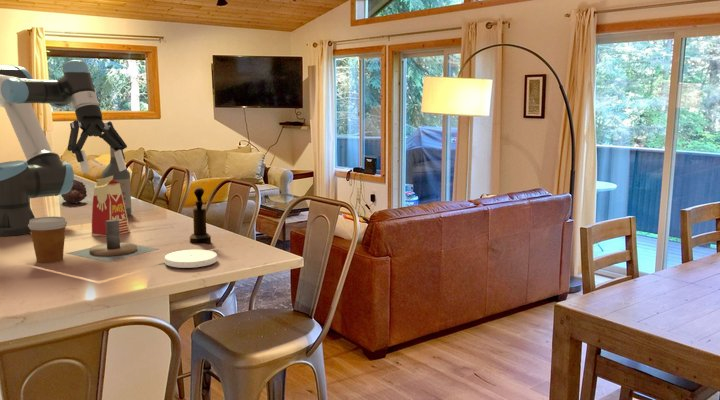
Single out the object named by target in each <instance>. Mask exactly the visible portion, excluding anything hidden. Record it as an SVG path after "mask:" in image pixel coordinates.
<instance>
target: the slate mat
mask: <svg viewBox="0 0 720 400" xmlns="http://www.w3.org/2000/svg"><path fill="white" fill-rule="evenodd" d="M120 243H126V242H124V241H120ZM136 245H137V251H136V252H134V253H131V254H127V255H121V256H111V257H102V256H94V255H91V254H90V253H89V249H90V248H91V247H89V248H88V247H87V248H83V249H79V250H74V251H70V252H66V254H68V255H71V256H77V257H82V258H86V259H92V260H95V261H99V262H101V261H102V262H105V263H111V262H115V261H119V260H123V259H126V258H130V257H134V256H138V255H141V254H142V255H143V254H146V253H150V252H154V251H158V250H159V248H155V247H150V246H145V245H139V244H136Z"/></svg>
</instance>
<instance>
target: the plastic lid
mask: <svg viewBox="0 0 720 400" xmlns="http://www.w3.org/2000/svg"><path fill="white" fill-rule="evenodd" d="M217 253H218V252H217ZM217 253H216V252H215V251H212V250H208V249H207V250H206V249H183V250H176V251H173V252H170V253H167V254H166V255H165V256H164V264H165V265H167V266H168V267H172V268H179V269H180V268H183V269H186V268H199V267H206V266H210V265H213V264H215V263H216V262H218V254H217Z"/></svg>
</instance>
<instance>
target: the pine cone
mask: <svg viewBox="0 0 720 400" xmlns="http://www.w3.org/2000/svg"><path fill="white" fill-rule="evenodd" d="M60 196H61V197H62V198H63V200H64V201H65V202H66V203H73V204H78V203H80V202H82V201H83V200H85V199H86V198H87V196H88V194H87V188H86V185H85V184H84V182H83V181H80V180H76V179H74V181H73V186H72V188H71V190H70V191H69V192H68V193H66V194H62V195H60Z"/></svg>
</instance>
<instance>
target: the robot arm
mask: <svg viewBox="0 0 720 400" xmlns="http://www.w3.org/2000/svg"><path fill="white" fill-rule="evenodd" d="M61 68H62V73H63V75H62V77H60V78H59V79H33V77H32V74H31V73H30V72H29V70H27V69H26V68H25V67H23V66H19V65H15V64H7V65H4V64H0V107H1V108H4V110H5V112H6V114H7V116H8V119H9V122H10V124H11V126H12V128H13V131H14V133H15V135H16V138H17V141H18V142H19V145H20V148H21V150H22V152H23V154H24V157H25V159H26V160H10V161H3V162H0V237H5V236H6V237H10V236H18V235H19V236H20V235H26V234H31V231H30V229H29V227H28V224H29V221H30V220H31V219H34V218H36V217H35V215H34V213H33V211H32V208H31V199H36V198H47V197H54V196H55V197H58V196H61V195H62V194H66V193H68V192H69V191H70V190H71V188H72V186H73V181H74V180H75V179H74V178H75V173H74V168H73V166H72V165H71V163H70V162H68V161H62V159H61V157H60V155H59V153H56V152H54V151H53V150H52V149H51V148H52V147H51V145H50V143H49V141H48V139H47V137H46V135H45V134H46V133H45V132H44V130H43V128H42V125H41V124H40V121H39V119H38V117H37V114H36V112H35V109H34V107H33V105H32V104H49V105H50V106H52V107H54V108H56V109H62V108H65V107H66V106H68V105H71V104H72V108H73V110H74V113H75V116H76V117H75V118H76V120H73V122H70V123H69V125H70V134H69V138H68V143H67V147H66V148H67V151H68V152H71V153H72V154H75V157H76V161H77V162H78V163H79V165H80V169H81V172H82V174H86V173H88V172H90V171H91V169H90V165H89V161H88V158H87V154H86V151H85V150H82V149H83V147H84V145H85V143H86V141H87V139H88V137H95V138H96V137H98V138H100V139H102V140H103V141H105V142H106V144H107V145H109V147H110V146H111V147H112V148H113V149H114V150H115V151H116V152H114V154H115V158H116V161H117V165H118V168H119V171H123V170H125V169H127V166H126V162H125V159H126V157H125V154H124V150H125V149H127V148H128V146H127V144H126V142H125V140H124V139H123V138H122V136H120V134H119V133H118V132H117V130H116V129H115V127H114V125H113V123H112V121H110V120H109V121H108V122H104V121H103V113H102V110H101V107H100V106H99V105H100V104H99V100H98V97H97V94H96V91H95V86H94V82H93V78H92V75H91V71H90V69H89V66H88V64H87V63H86V62H85V61H84V60H81V59H72V60H69V61H66V62H64V63H63V64H62V66H61ZM80 129H81V130H82V131H81V133H80V134H79V131H80ZM78 136H79V138H78ZM117 147H118V148H117ZM127 170H128V169H127Z"/></svg>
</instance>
